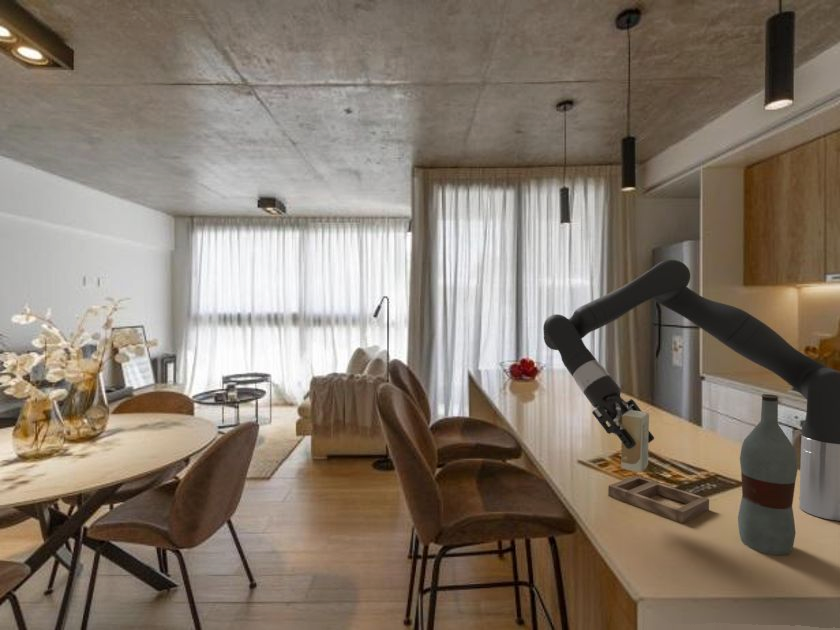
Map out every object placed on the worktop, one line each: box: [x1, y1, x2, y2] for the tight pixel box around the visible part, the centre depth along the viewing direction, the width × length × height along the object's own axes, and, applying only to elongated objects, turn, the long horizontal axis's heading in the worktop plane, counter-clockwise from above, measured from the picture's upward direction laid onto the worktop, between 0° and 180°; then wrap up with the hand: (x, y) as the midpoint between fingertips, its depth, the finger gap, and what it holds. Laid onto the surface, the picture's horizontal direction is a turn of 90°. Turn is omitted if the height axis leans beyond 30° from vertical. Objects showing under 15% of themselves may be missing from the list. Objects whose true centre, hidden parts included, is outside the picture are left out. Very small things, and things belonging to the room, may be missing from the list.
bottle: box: [737, 393, 799, 556], centre depth 95 cm, size 9×9×30 cm
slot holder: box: [607, 475, 710, 524], centre depth 115 cm, size 18×12×2 cm
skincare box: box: [620, 410, 650, 473], centre depth 107 cm, size 6×4×12 cm
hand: (641, 443), depth 106 cm, fingers closed on skincare box, 7 cm apart
